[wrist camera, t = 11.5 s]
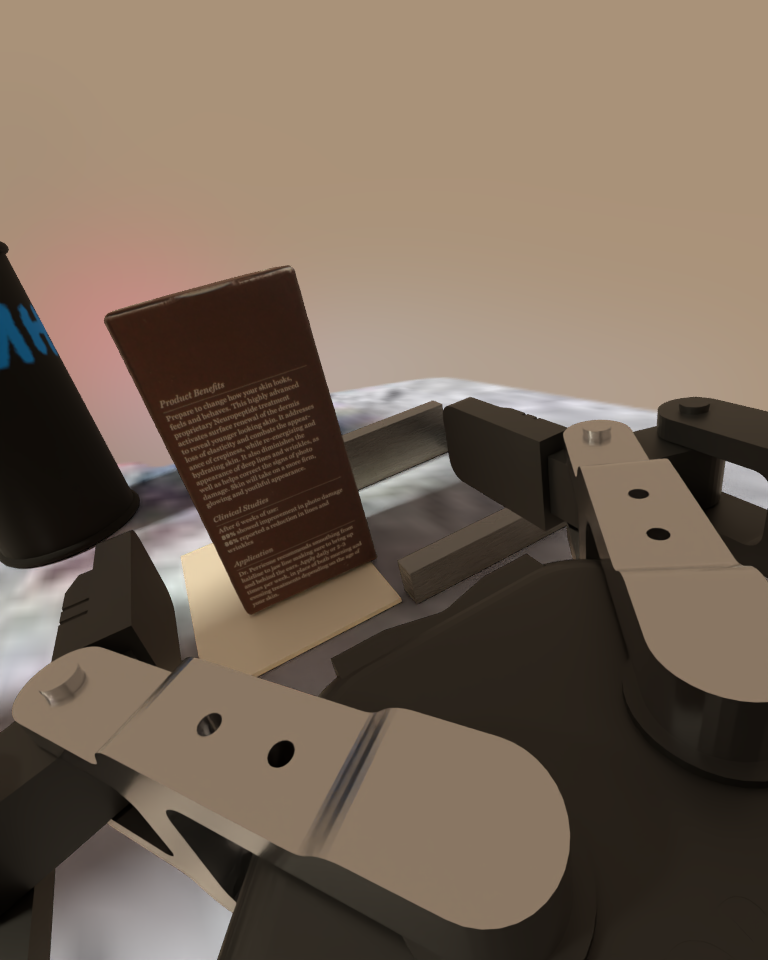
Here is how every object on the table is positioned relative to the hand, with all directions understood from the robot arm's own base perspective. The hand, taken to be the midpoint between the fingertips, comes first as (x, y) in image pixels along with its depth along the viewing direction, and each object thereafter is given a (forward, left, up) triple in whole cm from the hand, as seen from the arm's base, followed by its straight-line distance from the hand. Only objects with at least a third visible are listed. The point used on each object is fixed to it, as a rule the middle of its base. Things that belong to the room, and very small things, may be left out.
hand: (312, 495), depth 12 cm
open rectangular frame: (+7, +8, -7) cm, 13 cm away
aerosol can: (-11, +23, -8) cm, 26 cm away
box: (0, +8, -7) cm, 11 cm away
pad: (-1, +8, -7) cm, 11 cm away
